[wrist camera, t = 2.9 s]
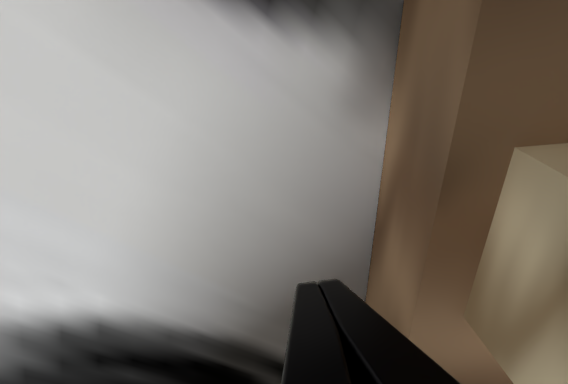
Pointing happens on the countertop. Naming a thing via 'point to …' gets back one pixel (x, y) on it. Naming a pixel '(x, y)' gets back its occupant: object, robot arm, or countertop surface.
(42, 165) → the countertop surface
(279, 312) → the countertop surface
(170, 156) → the countertop surface
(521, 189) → the maple cube
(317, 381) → the robot arm
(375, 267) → the trap box
